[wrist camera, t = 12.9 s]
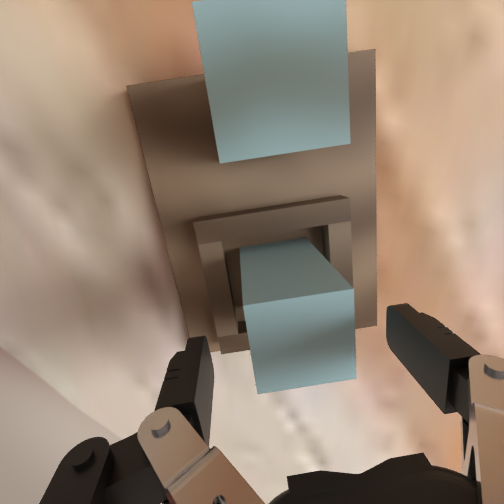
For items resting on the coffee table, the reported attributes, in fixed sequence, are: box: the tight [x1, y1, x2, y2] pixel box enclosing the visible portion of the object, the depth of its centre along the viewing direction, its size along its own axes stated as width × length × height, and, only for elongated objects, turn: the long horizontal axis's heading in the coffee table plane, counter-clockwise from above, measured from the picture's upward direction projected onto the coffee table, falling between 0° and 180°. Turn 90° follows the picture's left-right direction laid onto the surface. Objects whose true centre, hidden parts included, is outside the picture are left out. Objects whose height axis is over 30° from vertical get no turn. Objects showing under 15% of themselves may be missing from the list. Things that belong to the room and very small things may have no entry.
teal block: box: [239, 237, 356, 394], centre depth 16 cm, size 4×4×8 cm
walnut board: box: [126, 0, 377, 354], centre depth 15 cm, size 18×14×9 cm
